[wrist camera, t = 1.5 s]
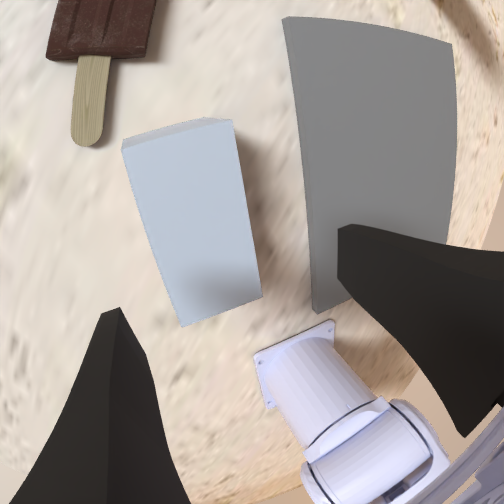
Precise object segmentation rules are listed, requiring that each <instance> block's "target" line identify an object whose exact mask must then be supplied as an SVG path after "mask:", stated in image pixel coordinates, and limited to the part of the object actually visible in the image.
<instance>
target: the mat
mask: <svg viewBox="0 0 504 504" xmlns="http://www.w3.org/2000/svg"><path fill="white" fill-rule="evenodd" d="M282 23H283V28H284V34H285V40H286V46H287V52H288V58H289V64H290V71H291V77H292V84H293V91H294V98H295V106H296V113H297V121H298V129H299V138H300V147H301V156H302V165H303V175H304V186H305V197H306V208H307V221H308V235H309V249H310V266H311V286H312V309H313V310H314V311H315V312H316V313H317V314H319V313H322V312H324V311H326V310H328V309H330V308H332V307H334V306H336V305H338V304H340V303H342V302H344V301H346V300H348V299H350V298H352V296H351V295H350V294H349V293H348V291H347V290H346V289H345V288H344V286H343V285H342V284H341V282H340V281H339V280H338V279H337V253H338V228H341V227H344V226H346V225H349V224H359V225H365V226H370V227H374V228H378V229H383V230H387V231H391V232H395V233H399V234H403V235H407V236H410V237H414V238H419V239H423V240H427V241H431V242H436V243H440V244H445V245H446V241H447V235H448V229H449V223H450V216H451V208H452V200H453V191H454V181H455V168H456V150H457V98H456V80H455V68H454V58H453V50H452V44H450V43H447V42H444V41H440V40H437V39H434V38H430V37H427V36H423V35H419V34H415V33H411V32H407V31H403V30H398V29H394V28H389V27H384V26H378V25H373V24H367V23H360V22H353V21H345V20H336V19H326V18H312V17H290V16H288V17H286V18H284V19H282Z"/></svg>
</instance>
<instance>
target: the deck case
mask: <svg viewBox="0 0 504 504" xmlns="http://www.w3.org/2000/svg"><path fill="white" fill-rule="evenodd" d="M121 151H122V155H123V159H124V163H125V166H126V170H127V173H128V177H129V180H130V184H131V187H132V191H133V194H134V197H135V200H136V204H137V207H138V210H139V213H140V216H141V219H142V222H143V226H144V229H145V232H146V235H147V237H148V240H149V243H150V246H151V249H152V252H153V255H154V258H155V260H156V263H157V266H158V269H159V271H160V274H161V277H162V279H163V282H164V285H165V287H166V290H167V292H168V295H169V297H170V300H171V303H172V305H173V308H174V310H175V312H176V315H177V317H178V320H179V322H180V325H181V327H185V326H188V325H190V324H193V323H196V322H199V321H201V320H204V319H207V318H209V317H212V316H215V315H217V314H220V313H223V312H225V311H228V310H231V309H233V308H236V307H239V306H241V305H244V304H246V303H249V302H252V301H254V300H257V299H259V298H262V297H263V295H262V289H261V283H260V277H259V271H258V266H257V260H256V254H255V248H254V242H253V237H252V231H251V225H250V219H249V214H248V208H247V202H246V196H245V191H244V185H243V179H242V173H241V168H240V162H239V156H238V151H237V145H236V139H235V134H234V128H233V122H232V120H228V119H217V118H205V117H203V118H198V119H194V120H190V121H186V122H182V123H178V124H174V125H171V126H167V127H163V128H160V129H156V130H153V131H149V132H146V133H142V134H139V135H136V136H133V137H130V138H127V139H123V142H122V147H121Z"/></svg>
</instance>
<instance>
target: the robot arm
mask: <svg viewBox="0 0 504 504" xmlns="http://www.w3.org/2000/svg"><path fill="white" fill-rule="evenodd" d="M337 279H338V280H339V281H340V282H341V284H342V285H343V286H344V288H345V289H346V290H347V291H348V293H349V294H350V295H351V296H352V297H353V299H354V300H355V301H356V302H357V303H358V304H359V305H361V306H362V307H363V308H364V309H365V310H366V311H367V312H368V313H369V314H370V315H371V316H372V317H373V318H374V319H375V320H376V321H377V322H379V323H380V324H381V325H382V326H383V327H384V328H385V329H386V330H387V331H388V332H389V333H390V334H391V335H392V336H393V337H394V338H395V339H396V340H397V341H398V342H399V343H400V344H401V345H402V346H403V347H404V348H405V350H406V351H407V352H408V353H409V355H410V356H411V357H412V358H413V360H414V361H415V362H416V363H417V365H418V366H419V367H420V369H421V370H422V371H423V373H424V374H425V376H426V377H427V378H428V380H429V381H430V383H431V384H432V386H433V387H434V389H435V390H436V392H437V394H438V395H439V397H440V399H441V400H442V402H443V404H444V405H445V407H446V409H447V411H448V413H449V415H450V417H451V419H452V420H453V423H454V425H455V427H456V429H457V431H458V432H459V433H460V434H461V435H462V436H463V437H464V438H465V437H467V435H468V434H469V433H471V431H472V430H473V429H474V428H475V427H476V426H477V425H478V424H479V423H480V422H481V421H482V420H483V419H484V418H485V417H486V415H487V414H488V413H489V412H490V411H491V410H492V409H493V407H494V406H495V405H496V404H497V403H498V404H499V405H500V406H501V407H502V409H501V410H500V411H499V413H498V414H497V415H496V416H495V418H494V419H493V420H492V421H491V422H490V424H489V425H488V426H487V427H486V428H485V429H484V431H483V432H482V433H481V434H480V435H479V436H478V437H477V438H476V440H475V441H474V442H473V443H472V444H471V445H470V446H469V447H468V448H467V449H466V450H465V451H464V453H462V454H461V455H460V457H458V458H457V459H456V460H455V461H454V462H453V463H452V464H451V465H450V460H449V459H448V453H447V452H446V451H445V449H444V448H443V446H442V445H441V443H440V441H439V438H438V436H437V433H436V432H435V430H434V428H433V427H432V426H431V424H430V423H429V422H428V420H427V419H426V418H425V417H424V416H423V415H422V414H421V413H420V412H419V411H418V410H417V409H416V408H415V407H414V406H413V405H412V404H410V403H409V402H407V401H406V400H399V399H392V400H391V401H390V402H389V403H388V402H387V401H386V400H385V399H384V398H383V397H382V396H380V397H379V398H377V396H376V395H375V394H374V393H373V392H372V391H371V390H370V389H369V387H368V386H367V385H366V384H365V383H364V382H363V381H362V380H361V378H360V377H359V376H358V375H357V374H356V373H355V372H354V371H353V369H352V368H351V367H350V366H349V365H348V364H347V363H346V362H345V360H344V359H343V358H342V357H341V356H340V355H339V354H338V353H337V351H336V350H335V349H334V330H335V323H334V322H333V321H332V320H328V321H326V322H324V323H322V324H320V325H318V326H316V327H313V328H311V329H309V330H307V331H305V332H303V333H301V334H298V335H296V336H294V337H292V338H290V339H287V340H285V341H283V342H281V343H278V344H276V345H274V346H272V347H269V348H267V349H265V350H262V351H260V352H258V353H256V354H255V355H254V357H253V359H254V363H255V367H256V371H257V375H258V379H259V383H260V387H261V391H262V395H263V399H264V403H265V406H266V408H267V409H271V408H274V407H277V408H278V410H279V412H280V413H281V415H282V416H283V418H284V420H285V421H286V423H287V425H288V426H289V428H290V429H291V431H292V433H293V434H294V436H295V437H296V439H297V441H298V442H299V444H300V445H301V446H302V447H303V448H304V449H305V451H303V452H302V453H303V455H304V456H305V458H306V459H307V461H306V462H304V463H303V464H302V465H301V472H300V477H301V481H302V483H303V485H304V487H305V489H306V491H307V492H308V494H309V495H310V497H311V499H312V500H313V501H314V503H315V504H442V503H443V502H444V501H445V500H446V499H447V498H449V497H450V496H451V495H452V494H453V493H454V492H455V491H456V490H457V489H458V488H459V487H460V486H461V485H462V484H463V483H464V482H465V481H466V480H467V479H468V478H469V477H470V476H471V475H472V474H473V473H474V472H475V471H476V470H477V469H478V468H479V469H478V470H477V472H476V474H475V478H476V479H477V480H476V481H475V482H474V483H473V484H472V485H471V486H470V487H468V488H467V490H465V491H464V492H463V493H462V494H461V495H460V496H459V497H458V498H456V499H455V500H454V501H453V502H452V503H451V504H504V442H502V443H501V444H500V445H499V446H498V447H497V445H498V444H499V443H500V442H501V440H502V439H503V438H504V252H499V251H486V250H476V249H469V248H462V247H456V246H450V245H445V244H440V243H436V242H431V241H427V240H423V239H419V238H414V237H410V236H407V235H403V234H399V233H395V232H391V231H387V230H383V229H378V228H374V227H370V226H365V225H359V224H349V225H346V226H344V227H341V228H338V253H337ZM496 447H497V448H496ZM495 448H496V449H495ZM494 449H495V450H494ZM493 450H494V451H493ZM480 465H481V466H480ZM479 466H480V467H479ZM9 504H191V503H190V501H189V498H188V496H187V494H186V492H185V490H184V488H183V485H182V483H181V481H180V478H179V476H178V473H177V471H176V468H175V466H174V463H173V461H172V458H171V455H170V452H169V448H168V445H167V441H166V437H165V433H164V428H163V424H162V419H161V414H160V410H159V405H158V400H157V395H156V390H155V385H154V381H153V377H152V374H151V370H150V367H149V364H148V360H147V357H146V354H145V352H144V350H143V349H142V347H141V345H140V343H139V342H138V340H137V338H136V336H135V334H134V333H133V331H132V329H131V327H130V325H129V323H128V322H127V320H126V318H125V316H124V314H123V312H122V310H121V308H120V307H119V308H116V309H113V310H110V311H107V312H104V313H102V314H101V316H100V318H99V320H98V323H97V325H96V328H95V330H94V333H93V336H92V338H91V341H90V343H89V346H88V349H87V351H86V354H85V357H84V359H83V362H82V364H81V367H80V370H79V372H78V375H77V377H76V380H75V382H74V384H73V387H72V389H71V392H70V394H69V397H68V399H67V401H66V404H65V406H64V408H63V410H62V412H61V415H60V417H59V419H58V421H57V423H56V425H55V427H54V429H53V431H52V433H51V435H50V437H49V439H48V441H47V442H46V444H45V446H44V448H43V450H42V451H41V453H40V455H39V457H38V459H37V461H36V462H35V464H34V466H33V468H32V469H31V471H30V472H29V474H28V476H27V477H26V479H25V481H24V482H23V484H22V485H21V487H20V488H19V490H18V491H17V493H16V495H15V496H14V497H13V499H12V500H11V502H10V503H9Z"/></svg>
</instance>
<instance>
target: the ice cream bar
mask: <svg viewBox="0 0 504 504" xmlns="http://www.w3.org/2000/svg"><path fill="white" fill-rule="evenodd" d="M155 4H156V0H59V1H58V4H57V8H56V11H55V15H54V19H53V23H52V27H51V32H50V36H49V41H48V46H47V51H46V58H47V59H49V60H69V59H76V58H79V59H78V66H77V72H76V80H75V87H74V96H73V107H72V119H71V137H72V139H73V141H74V142H75V143H76V144H78V145H80V146H85V147H86V146H91V145H92V144H94V143H96V142H97V141H98V140H99V138H100V137H101V135H102V131H103V121H104V110H105V100H106V91H107V83H108V76H109V69H110V62H111V58H113V59H128V58H138V57H145V54H146V48H147V43H148V37H149V32H150V27H151V22H152V18H153V13H154V9H155Z"/></svg>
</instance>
